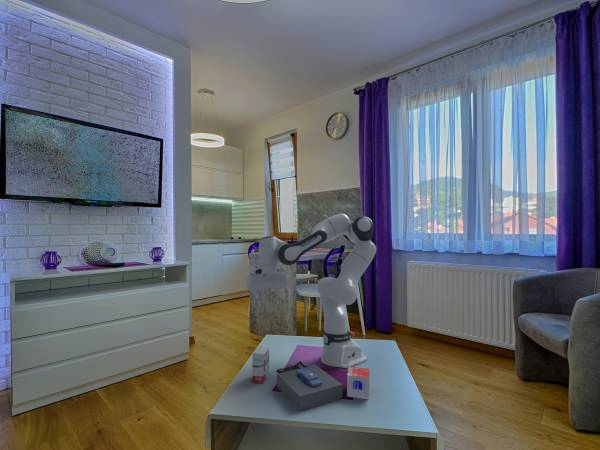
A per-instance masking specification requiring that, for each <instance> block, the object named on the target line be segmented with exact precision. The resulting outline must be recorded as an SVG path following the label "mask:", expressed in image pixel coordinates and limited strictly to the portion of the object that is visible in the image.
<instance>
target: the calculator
mask: <svg viewBox="0 0 600 450" xmlns="http://www.w3.org/2000/svg"><path fill="white" fill-rule="evenodd" d="M304 367H307V366H306V365H305V364H304V363H303V362H302V360H300V361H299V362H297V363H296V364H294V365H293V366H290V367H284V368H283V367H282V368H277V369H276V372H277V374H278V373H283V372H287V371H291V370H296V369H300V368H304Z"/></svg>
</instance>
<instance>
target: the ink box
mask: <svg viewBox="0 0 600 450" xmlns="http://www.w3.org/2000/svg"><path fill="white" fill-rule="evenodd" d="M251 369H252V373H251V374H252V375H251V376H252V379H251V382H252V383H256V384H257V383H258V384H263V383H264V382H265V381H266V380H267V378H268V377H269V375H270V347H269V346H262V345H261V346H259V345H258V346H257V347H256V348H255V350H253V352H252V368H251Z"/></svg>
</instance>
